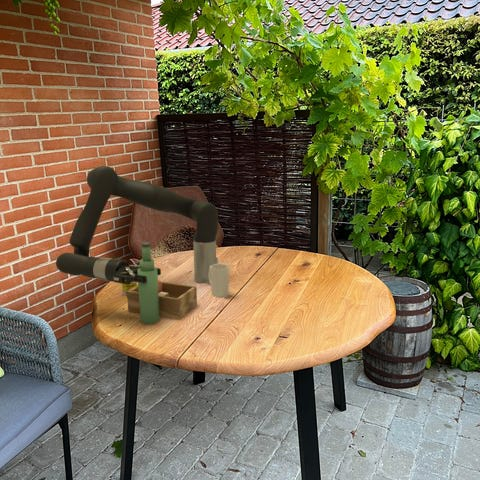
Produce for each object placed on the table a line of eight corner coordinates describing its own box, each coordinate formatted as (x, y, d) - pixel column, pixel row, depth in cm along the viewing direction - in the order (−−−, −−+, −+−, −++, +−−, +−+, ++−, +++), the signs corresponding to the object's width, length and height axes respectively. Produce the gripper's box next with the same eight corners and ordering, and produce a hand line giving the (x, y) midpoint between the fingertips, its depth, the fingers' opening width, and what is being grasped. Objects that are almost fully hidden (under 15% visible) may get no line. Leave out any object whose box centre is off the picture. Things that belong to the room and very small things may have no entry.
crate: (149, 299, 164) (147, 277, 162) (197, 307, 157) (196, 284, 154) (128, 313, 152) (126, 288, 150) (179, 322, 145) (178, 296, 143)
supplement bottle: (125, 296, 167) (123, 271, 164) (120, 292, 171) (118, 267, 169) (139, 293, 170) (137, 268, 167) (134, 289, 174) (132, 265, 172)
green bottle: (156, 316, 148) (152, 239, 142) (162, 323, 143) (158, 243, 136) (138, 319, 146) (133, 241, 139) (143, 327, 140) (138, 246, 133)
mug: (232, 296, 167) (232, 266, 164) (218, 301, 163) (218, 270, 160) (215, 289, 174) (215, 260, 171) (202, 293, 170) (201, 264, 167)
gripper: (95, 265, 138) (139, 271, 132) (123, 253, 151) (164, 258, 145) (97, 287, 140) (141, 294, 134) (124, 273, 153) (165, 279, 147)
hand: (153, 275), depth 139 cm, fingers open, 7 cm apart
